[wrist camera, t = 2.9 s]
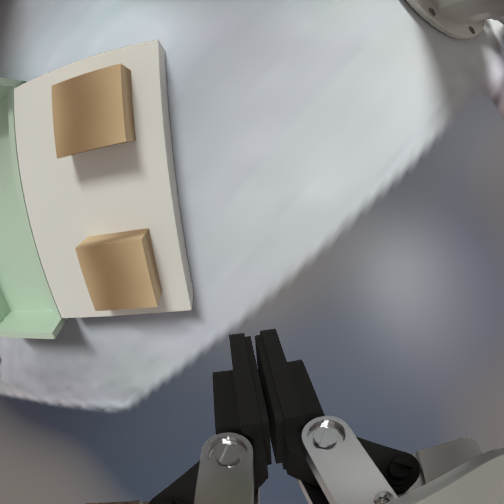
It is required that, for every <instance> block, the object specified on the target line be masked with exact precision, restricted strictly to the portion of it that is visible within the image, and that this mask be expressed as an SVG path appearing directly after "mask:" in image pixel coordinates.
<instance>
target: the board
mask: <svg viewBox="0 0 504 504" xmlns="http://www.w3.org/2000/svg"><path fill="white" fill-rule="evenodd" d="M120 63H121V64H122V65H124V66H125V67H127V68H128V69H130V70H131V86H132V102H133V115H134V126H135V136H136V141H131V142H126V143H121V144H116V145H112V146H107V147H103V148H99V149H95V150H91V151H87V152H83V153H79V154H75V155H71V156H67V157H62V158H58V159H57V155H56V147H55V138H54V127H53V113H52V85H55V84H57V83H60V82H63V81H65V80H68V79H71V78H74V77H76V76H79V75H82V74H85V73H89V72H92V71H95V70H98V69H102V68H105V67H109V66H112V65H116V64H120ZM14 117H15V133H16V144H17V154H18V162H19V169H20V175H21V182H22V187H23V193H24V198H25V203H26V207H27V212H28V216H29V221H30V225H31V229H32V232H33V236H34V240H35V243H36V247H37V250H38V254H39V257H40V260H41V263H42V266H43V269H44V272H45V275H46V278H47V281H48V284H49V287H50V289H51V292H52V295H53V297H54V300H55V302H56V305H57V307H58V310H59V312H60V315H61V317H62V318H79V317H102V316H120V315H136V314H150V313H163V312H175V311H186V310H192V301H193V293H194V292H193V287H192V281H191V276H190V270H189V264H188V259H187V253H186V247H185V241H184V234H183V228H182V221H181V214H180V207H179V200H178V193H177V185H176V177H175V169H174V160H173V151H172V142H171V131H170V120H169V109H168V95H167V80H166V62H165V50H164V48H163V46H162V45H161V43H160V42H159V40H153V41H148V42H144V43H139V44H135V45H131V46H126V47H122V48H119V49H115V50H111V51H108V52H104V53H101V54H98V55H95V56H91V57H88V58H85V59H82V60H79V61H77V62H74V63H71V64H68V65H66V66H63V67H61V68H58V69H56V70H53V71H51V72H48V73H46V74H44V75H41V76H39V77H37V78H35V79H33V80H30V81H28V82H26V83H24V84H22V85H20V86H18V87H16V88H14ZM146 228H149V231H150V237H151V242H152V247H153V252H154V256H155V261H156V266H157V270H158V275H159V279H160V283H161V288H162V294H161V297H160V300H159V304H158V307H150V308H137V309H123V310H107V311H95V309H94V306H93V303H92V300H91V298H90V295H89V292H88V289H87V286H86V283H85V280H84V277H83V273H82V270H81V267H80V264H79V260H78V257H77V253H76V250H75V248H76V247H77V246H78V245H79V244H80V243H81V242H82V241H83V240H85V239H86V238H87V237H90V236H97V235H104V234H110V233H117V232H124V231H131V230H139V229H146Z"/></svg>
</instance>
